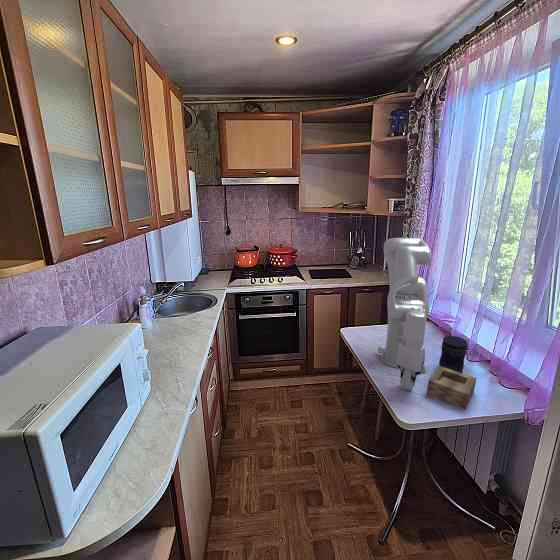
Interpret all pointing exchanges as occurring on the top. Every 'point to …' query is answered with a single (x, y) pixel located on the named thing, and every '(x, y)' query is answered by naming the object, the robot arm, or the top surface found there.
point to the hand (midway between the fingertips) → (407, 380)
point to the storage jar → (453, 353)
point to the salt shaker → (407, 380)
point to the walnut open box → (451, 387)
